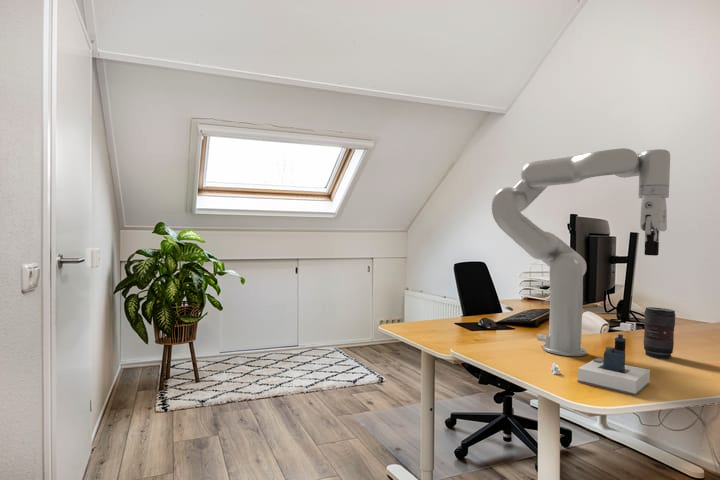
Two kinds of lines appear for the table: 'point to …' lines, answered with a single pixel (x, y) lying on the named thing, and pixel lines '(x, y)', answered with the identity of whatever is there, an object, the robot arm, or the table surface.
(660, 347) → the camera lens
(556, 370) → the power adapter
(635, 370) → the socket block
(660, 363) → the table surface
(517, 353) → the table surface
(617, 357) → the vaping device
